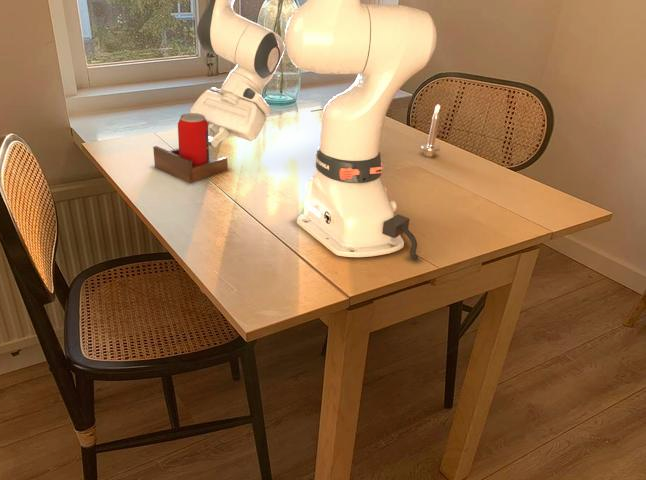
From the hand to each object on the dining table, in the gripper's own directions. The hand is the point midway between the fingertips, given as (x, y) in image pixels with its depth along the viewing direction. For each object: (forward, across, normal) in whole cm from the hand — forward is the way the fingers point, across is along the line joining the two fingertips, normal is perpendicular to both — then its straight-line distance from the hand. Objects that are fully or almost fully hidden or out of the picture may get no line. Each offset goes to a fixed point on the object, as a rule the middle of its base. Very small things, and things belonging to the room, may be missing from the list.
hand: (209, 144), depth 136 cm
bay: (+7, 0, -1) cm, 7 cm away
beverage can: (+7, 0, 0) cm, 7 cm away
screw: (-29, +34, +35) cm, 56 cm away
